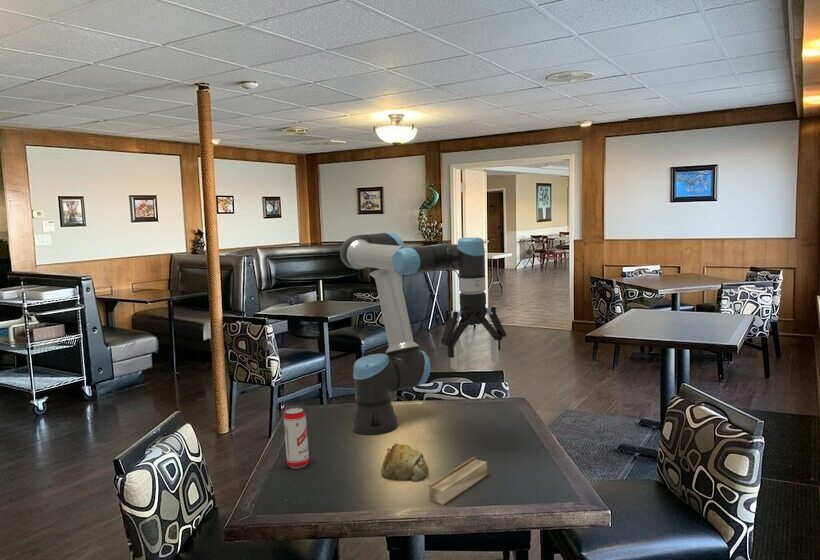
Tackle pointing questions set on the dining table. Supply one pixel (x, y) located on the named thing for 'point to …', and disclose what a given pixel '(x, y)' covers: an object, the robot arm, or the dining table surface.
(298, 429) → the beer can
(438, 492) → the wooden block
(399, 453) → the pastry
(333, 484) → the dining table surface
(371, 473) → the dining table surface
